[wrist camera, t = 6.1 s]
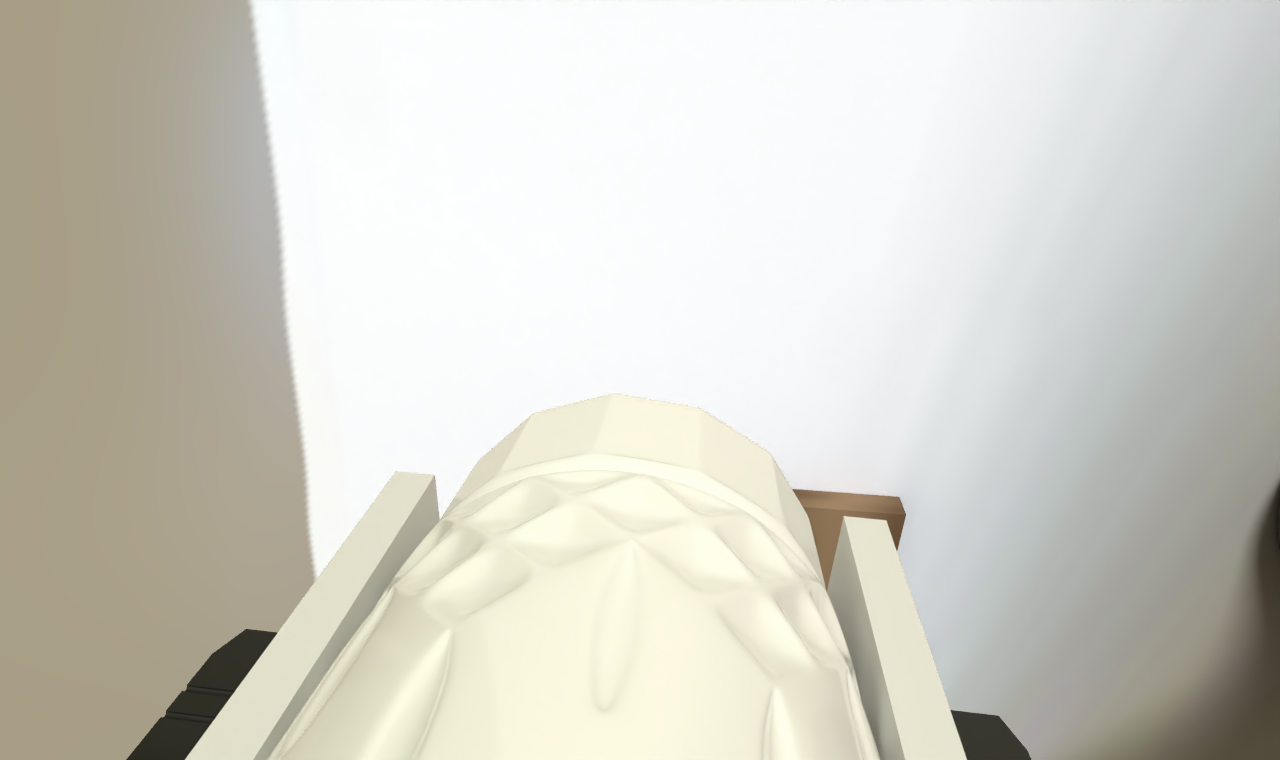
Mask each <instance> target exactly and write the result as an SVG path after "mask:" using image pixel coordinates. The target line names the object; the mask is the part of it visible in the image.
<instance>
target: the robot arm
mask: <svg viewBox="0 0 1280 760" xmlns="http://www.w3.org/2000/svg"><path fill="white" fill-rule="evenodd" d="M439 521H440V520H439V510H438V501H437V491H436V481H435V475H428V474H418V473H408V472H398V471H396V472H395V473H394V475H393V476H392V477H391V479H390V480H389V481H388V483H387V484H386V486H385V487H384V488H383V490H382V491H381V492H380V494H379V495H378V497H377V498H376V499H375V501H374V502H373V503H372V505H371V506H370V507H369V509H368V510H367V512H366V513H365V514H364V516H363V517H362V518H361V520H360V521H359V522H358V524H357V525H356V527H355V528H354V529H353V531H352V532H351V533H350V535H349V536H348V538H347V539H346V540H345V542H344V543H343V544H342V546H341V547H340V548H339V550H338V551H337V553H336V554H335V555H334V557H333V558H332V559H331V561H330V562H329V563H328V565H327V566H326V568H325V569H324V570H323V572H322V573H321V574H320V576H319V577H318V579H317V580H316V581H315V583H314V584H313V586H312V587H311V588H310V590H309V591H308V592H307V594H306V595H305V596H304V598H303V599H302V600H301V602H300V603H299V605H298V606H297V607H296V609H295V610H294V612H293V613H292V614H291V615H290V617H289V618H288V620H287V621H286V622H285V624H284V625H283V626H282V628H281V629H280V631H279V632H278V633H276V632H267V631H258V630H250V629H246V630H244V631H243V632H242V633H240V634H239V635H238V636H236V637H235V638H233V639H232V640H231V641H229V642H228V643H227V644H225V645H224V646H222V647H221V648H220V649H218V650H217V651H216V652H214V653H213V654H212V655H211V656H210V657H209V659H208V660H207V661H206V662H205V664H204V665H203V666H202V667H201V669H200V670H199V671H198V672H197V673H196V675H195V676H194V677H193V678H192V679H191V681H190V682H189V683H188V684H187V689H186V691H182V692H181V693H180V694H179V695H178V697H177V698H176V699H175V701H174V702H173V703H172V704H171V705H170V707H169V708H168V709H167V710H166V715H165V717H163V718H162V717H161V718H160V719H159V720H158V721H157V723H156V724H155V725H154V726H153V728H152V729H151V730H150V731H149V733H148V734H147V735H146V736H145V737H144V739H143V740H142V741H141V742H140V744H139V745H138V746H137V747H136V748H135V750H134V751H133V752H132V753H131V755H130V756H129V757H128V759H127V760H267V758H268V757H269V755H270V754H271V752H272V751H273V749H274V748H275V746H276V745H277V744H278V742H279V741H280V739H281V738H282V736H283V735H284V733H285V732H286V730H287V729H288V727H289V726H290V724H291V723H292V721H293V720H294V718H295V717H296V715H297V714H298V712H299V711H300V709H301V708H302V706H303V705H304V703H305V702H306V701H307V699H308V698H309V696H310V695H311V693H312V692H313V690H314V689H315V687H316V686H317V685H318V683H319V682H320V680H321V679H322V677H323V676H324V674H325V673H326V672H327V670H328V669H329V667H330V666H331V665H332V663H333V662H334V660H335V659H336V658H337V656H338V655H339V653H340V652H341V651H342V649H343V648H344V647H345V645H346V644H347V643H348V641H349V640H350V639H351V637H352V636H353V635H354V633H355V632H356V631H357V630H358V628H359V627H360V626H361V624H362V623H363V622H364V621H365V619H366V618H367V617H368V616H369V615H370V613H371V612H372V611H373V609H374V608H375V606H376V604H377V603H378V601H379V599H380V598H381V596H382V595H383V593H384V591H385V590H386V588H387V586H388V585H389V583H390V581H391V580H392V579H393V577H394V576H395V575H396V573H397V572H398V571H399V570H400V568H401V567H402V566H403V564H404V563H405V562H406V560H407V559H408V558H409V556H410V555H411V554H412V553H413V551H414V550H415V549H416V548H417V546H418V545H419V544H420V543H421V542H422V540H423V539H424V538H425V537H426V536H427V534H428V533H429V532H430V531H431V530H432V529H433V528H434V527H435V526H436V525H437V524H438V522H439ZM1277 535H1278V542H1279V547H1280V503H1279V508H1278V516H1277ZM827 594H828V596H829V598H830V601H831V603H832V606H833V608H834V611H835V613H836V616H837V618H838V621H839V624H840V627H841V629H842V632H843V635H844V638H845V641H846V644H847V647H848V650H849V653H850V656H851V659H852V662H853V666H854V670H855V674H856V679H857V683H858V688H859V692H860V697H861V702H862V705H863V708H864V711H865V713H866V716H867V719H868V722H869V725H870V728H871V731H872V734H873V737H874V740H875V743H876V746H877V749H878V752H879V755H880V759H881V760H1031V758H1030V756H1029V753H1028V751H1027V750H1026V748H1025V747H1024V746H1023V745H1022V744H1021V742H1020V741H1019V740H1018V739H1017V738H1016V736H1015V735H1014V734H1013V733H1012V732H1011V730H1010V729H1009V728H1008V727H1007V726H1006V724H1005V723H1004V722H1003V721H1002V719H1001V718H1000V717H999V716H996V715H987V714H979V713H970V712H962V711H953V710H950V708H949V705H948V702H947V699H946V696H945V693H944V690H943V687H942V684H941V681H940V678H939V675H938V672H937V669H936V666H935V663H934V660H933V657H932V654H931V651H930V648H929V645H928V643H927V640H926V637H925V634H924V631H923V628H922V625H921V622H920V619H919V616H918V613H917V610H916V607H915V604H914V601H913V598H912V595H911V592H910V589H909V586H908V583H907V580H906V577H905V574H904V571H903V568H902V565H901V562H900V559H899V556H898V553H897V551H896V548H895V545H894V542H893V539H892V536H891V533H890V530H889V527H888V524H887V521H886V520H878V519H868V518H858V517H848V516H844V517H843V522H842V526H841V531H840V535H839V540H838V544H837V548H836V553H835V557H834V562H833V566H832V571H831V575H830V580H829V584H828V589H827Z"/></svg>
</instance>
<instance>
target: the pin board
mask: <svg viewBox="0 0 1280 760" xmlns="http://www.w3.org/2000/svg"><path fill="white" fill-rule="evenodd" d="M792 490H793V492H794V493H795V495H796V497H797V498H798V500H799V502H800V503H801V505H802V507H803V508H804V510H805V512H806V513H807V515H808V518H809V521H810V524H811V528H812V532H813V536H814V541H815V545H816V549H817V553H818V557H819V562H820V566H821V570H822V574H823V578H824V582H825V587H826V592H827V589H828V584H829V580H830V575H831V571H832V566H833V562H834V557H835V553H836V548H837V544H838V540H839V535H840V531H841V526H842V522H843V517H844V516H848V517H858V518H868V519H878V520H886V521H887V524H888V527H889V530H890V533H891V536H892V539H893V542H894V545H895V548H896V551H897V549H898V545H899V541H900V537H901V533H902V529H903V525H904V521H905V517H906V513H905V511H904V508H903V506H902V503H901V501H900V498H899V497H890V496H877V495H863V494H850V493H836V492H823V491H809V490H796V489H792Z"/></svg>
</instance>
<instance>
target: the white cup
mask: <svg viewBox="0 0 1280 760" xmlns="http://www.w3.org/2000/svg"><path fill="white" fill-rule="evenodd" d="M267 760H881V759H880V755H879V752H878V749H877V746H876V743H875V740H874V737H873V734H872V731H871V728H870V725H869V722H868V719H867V716H866V713H865V711H864V708H863V705H862V702H861V697H860V692H859V688H858V683H857V679H856V674H855V670H854V666H853V662H852V659H851V656H850V653H849V650H848V647H847V644H846V641H845V638H844V635H843V632H842V629H841V627H840V624H839V621H838V618H837V616H836V613H835V611H834V608H833V606H832V603H831V601H830V598H829V596H828V594H827V592H826V587H825V582H824V578H823V574H822V570H821V566H820V562H819V557H818V553H817V549H816V545H815V541H814V536H813V532H812V528H811V524H810V521H809V518H808V515H807V513H806V512H805V510H804V508H803V507H802V505H801V503H800V502H799V500H798V498H797V497H796V495H795V493H794V492H793V490H792V488H791V487H790V485H789V483H788V481H787V480H786V478H785V476H784V475H783V473H782V471H781V470H780V468H779V466H778V465H777V463H776V461H775V460H774V458H773V456H772V455H771V453H770V452H768V451H767V450H765V449H764V448H762V447H761V446H759V445H758V444H756V443H754V442H753V441H751V440H750V439H748V438H747V437H745V436H743V435H742V434H740V433H739V432H737V431H736V430H734V429H732V428H731V427H729V426H728V425H726V424H725V423H723V422H722V421H720V420H718V419H717V418H715V417H714V416H712V415H711V414H709V413H708V412H706V411H704V410H703V409H701V408H699V407H694V406H688V405H682V404H676V403H670V402H664V401H657V400H651V399H645V398H639V397H633V396H628V395H622V394H609V395H605V396H601V397H597V398H593V399H588V400H584V401H580V402H576V403H572V404H568V405H564V406H560V407H556V408H552V409H548V410H543V411H539V412H536V413H533V414H532V415H531V416H530V417H528V418H527V419H526V420H525V421H524V422H523V423H521V424H520V425H519V426H518V427H517V428H516V429H515V430H513V431H512V432H511V433H510V434H509V435H508V436H506V437H505V438H504V439H503V440H502V441H501V442H499V443H498V444H497V445H496V446H495V447H494V448H492V449H491V450H490V451H489V452H488V453H487V454H485V455H484V456H483V457H482V458H481V459H480V460H479V461H478V462H477V464H476V465H475V466H474V468H473V469H472V471H471V473H470V474H469V476H468V477H467V479H466V480H465V482H464V483H463V485H462V487H461V488H460V490H459V491H458V493H457V494H456V496H455V497H454V499H453V501H452V502H451V504H450V505H449V507H448V508H447V510H446V511H445V513H444V515H443V516H442V518H441V519H440V521H439V522H438V524H437V525H436V526H435V527H434V528H433V529H432V530H431V531H430V532H429V533H428V534H427V536H426V537H425V538H424V539H423V540H422V542H421V543H420V544H419V545H418V546H417V548H416V549H415V550H414V551H413V553H412V554H411V555H410V556H409V558H408V559H407V560H406V562H405V563H404V564H403V566H402V567H401V568H400V570H399V571H398V572H397V573H396V575H395V576H394V577H393V579H392V580H391V581H390V583H389V585H388V586H387V588H386V590H385V591H384V593H383V595H382V596H381V598H380V599H379V601H378V603H377V604H376V606H375V608H374V609H373V611H372V612H371V613H370V615H369V616H368V617H367V618H366V619H365V621H364V622H363V623H362V624H361V626H360V627H359V628H358V630H357V631H356V632H355V633H354V635H353V636H352V637H351V639H350V640H349V641H348V643H347V644H346V645H345V647H344V648H343V649H342V651H341V652H340V653H339V655H338V656H337V658H336V659H335V660H334V662H333V663H332V665H331V666H330V667H329V669H328V670H327V672H326V673H325V674H324V676H323V677H322V679H321V680H320V682H319V683H318V685H317V686H316V687H315V689H314V690H313V692H312V693H311V695H310V696H309V698H308V699H307V701H306V702H305V703H304V705H303V706H302V708H301V709H300V711H299V712H298V714H297V715H296V717H295V718H294V720H293V721H292V723H291V724H290V726H289V727H288V729H287V730H286V732H285V733H284V735H283V736H282V738H281V739H280V741H279V742H278V744H277V745H276V746H275V748H274V749H273V751H272V752H271V754H270V755H269V757H268V758H267Z"/></svg>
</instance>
